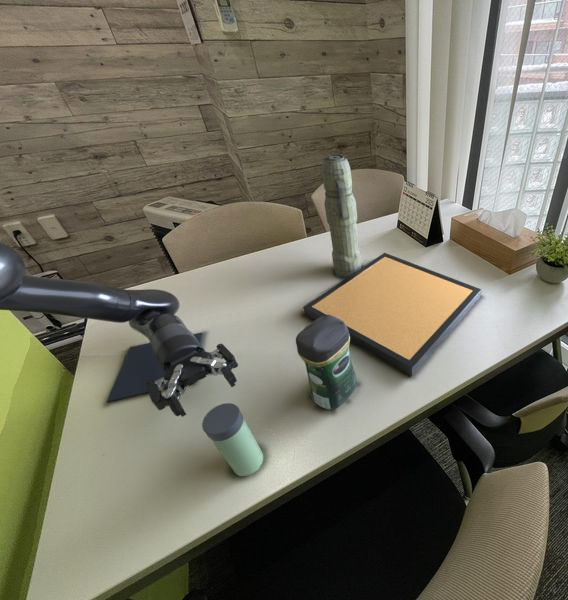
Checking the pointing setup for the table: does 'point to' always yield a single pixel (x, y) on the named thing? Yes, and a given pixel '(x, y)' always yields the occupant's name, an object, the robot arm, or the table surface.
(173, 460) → the table surface
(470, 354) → the table surface
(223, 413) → the canister
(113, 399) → the mat
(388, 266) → the cork board
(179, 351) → the robot arm
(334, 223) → the thermos
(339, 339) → the coffee jar
